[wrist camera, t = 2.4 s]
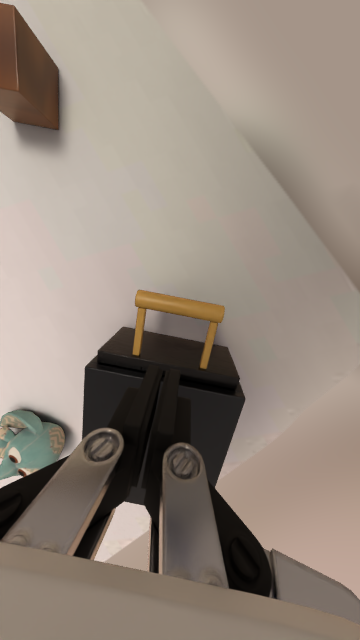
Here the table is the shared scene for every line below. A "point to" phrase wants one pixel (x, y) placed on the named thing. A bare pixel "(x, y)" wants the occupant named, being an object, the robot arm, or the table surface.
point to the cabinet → (206, 412)
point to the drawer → (173, 344)
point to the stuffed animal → (28, 444)
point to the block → (26, 73)
